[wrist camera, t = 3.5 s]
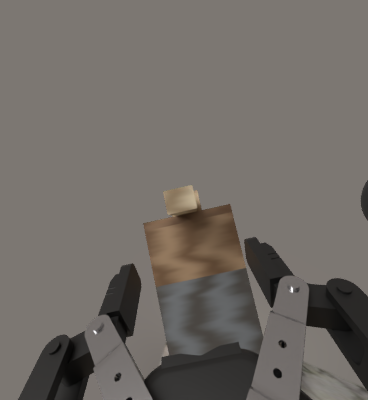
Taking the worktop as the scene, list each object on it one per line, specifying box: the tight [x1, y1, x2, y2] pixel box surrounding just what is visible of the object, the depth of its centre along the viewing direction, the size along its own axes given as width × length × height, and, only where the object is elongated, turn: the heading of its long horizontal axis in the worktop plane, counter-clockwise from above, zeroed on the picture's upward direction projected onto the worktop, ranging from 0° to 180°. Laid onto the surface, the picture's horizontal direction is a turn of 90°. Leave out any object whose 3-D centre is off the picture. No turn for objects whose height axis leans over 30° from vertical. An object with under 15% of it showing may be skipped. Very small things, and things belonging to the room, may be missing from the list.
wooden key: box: [163, 185, 201, 217], centre depth 29 cm, size 5×20×4 cm, turn 178°
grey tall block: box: [144, 204, 263, 356], centre depth 33 cm, size 13×15×33 cm
